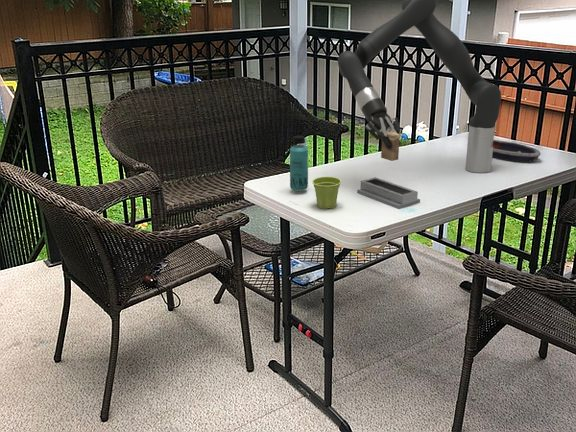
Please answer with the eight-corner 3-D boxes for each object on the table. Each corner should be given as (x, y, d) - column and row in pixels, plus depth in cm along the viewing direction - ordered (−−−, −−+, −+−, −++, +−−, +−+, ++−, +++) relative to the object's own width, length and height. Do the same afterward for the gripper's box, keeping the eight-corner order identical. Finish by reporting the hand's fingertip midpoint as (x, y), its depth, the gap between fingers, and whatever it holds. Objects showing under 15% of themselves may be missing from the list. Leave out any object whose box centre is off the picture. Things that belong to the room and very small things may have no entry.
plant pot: (332, 213, 191) (332, 187, 188) (307, 207, 195) (307, 182, 192) (345, 204, 198) (346, 179, 195) (320, 199, 203) (321, 175, 200)
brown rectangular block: (387, 156, 201) (388, 131, 198) (398, 159, 197) (399, 134, 194) (381, 157, 199) (382, 132, 196) (391, 161, 196) (393, 135, 193)
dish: (526, 167, 232) (528, 155, 230) (461, 151, 255) (462, 140, 253) (548, 160, 241) (549, 148, 239) (482, 145, 264) (484, 134, 262)
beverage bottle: (289, 189, 213) (288, 134, 206) (307, 188, 214) (307, 133, 206) (290, 195, 207) (289, 139, 200) (309, 194, 208) (309, 138, 200)
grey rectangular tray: (377, 186, 213) (378, 176, 212) (420, 202, 198) (420, 190, 197) (357, 192, 208) (357, 182, 207) (398, 209, 193) (399, 197, 191)
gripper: (360, 99, 193) (385, 144, 188) (391, 94, 201) (416, 137, 196) (349, 113, 199) (373, 156, 194) (380, 107, 207) (403, 149, 202)
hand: (394, 146), depth 195 cm, fingers closed on brown rectangular block, 3 cm apart
